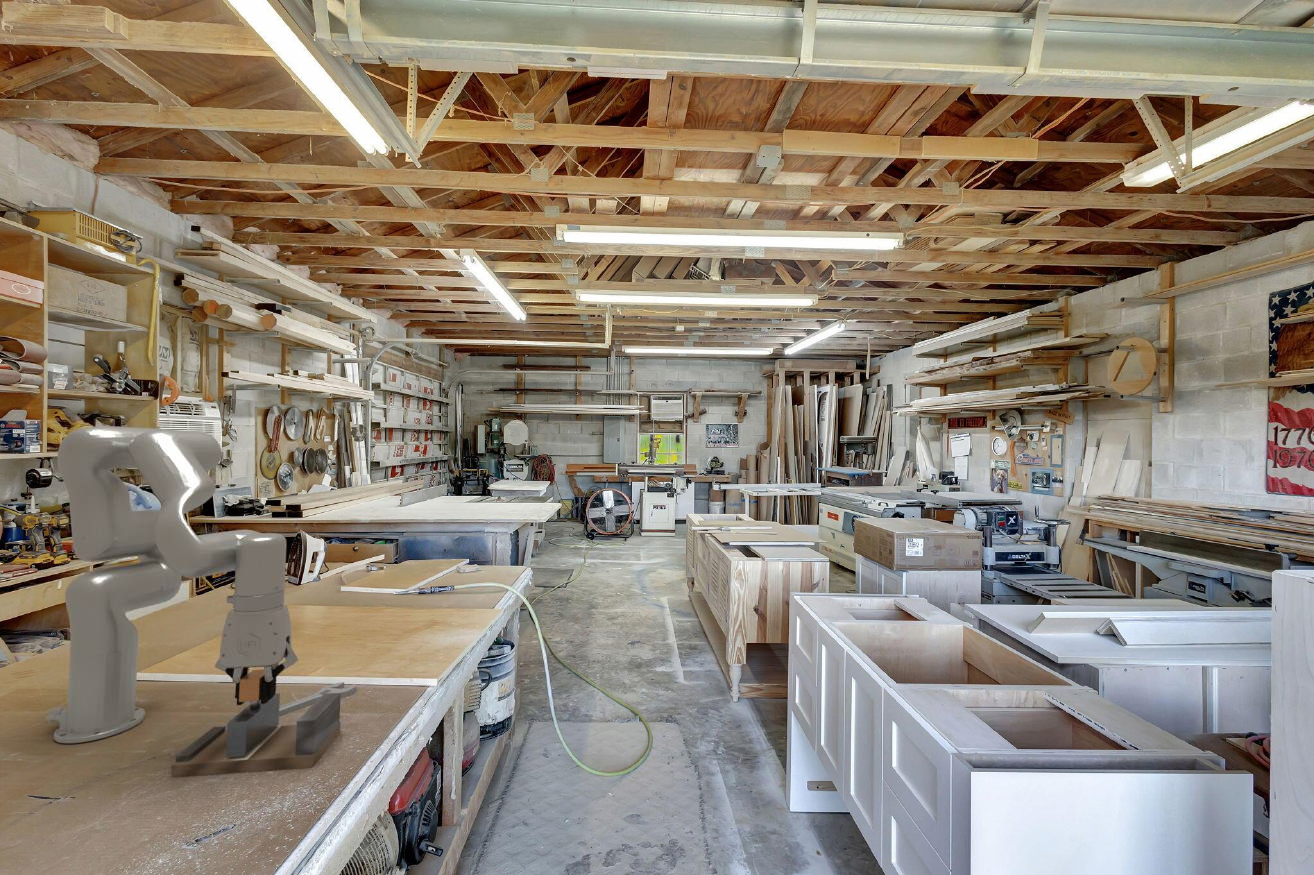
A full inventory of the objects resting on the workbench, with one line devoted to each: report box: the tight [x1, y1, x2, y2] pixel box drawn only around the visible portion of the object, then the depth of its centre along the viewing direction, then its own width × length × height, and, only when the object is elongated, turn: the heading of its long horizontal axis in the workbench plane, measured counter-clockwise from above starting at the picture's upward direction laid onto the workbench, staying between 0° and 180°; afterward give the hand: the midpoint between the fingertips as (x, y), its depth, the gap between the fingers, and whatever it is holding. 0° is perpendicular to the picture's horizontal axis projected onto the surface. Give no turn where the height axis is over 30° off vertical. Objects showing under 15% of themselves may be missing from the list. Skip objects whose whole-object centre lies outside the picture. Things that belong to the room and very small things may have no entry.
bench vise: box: [170, 693, 342, 778], centre depth 99 cm, size 22×12×8 cm, turn 100°
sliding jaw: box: [226, 668, 281, 757], centre depth 99 cm, size 3×11×12 cm, turn 10°
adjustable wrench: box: [223, 681, 357, 729], centre depth 116 cm, size 25×6×2 cm, turn 142°
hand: (255, 700), depth 99 cm, fingers closed on sliding jaw, 3 cm apart
